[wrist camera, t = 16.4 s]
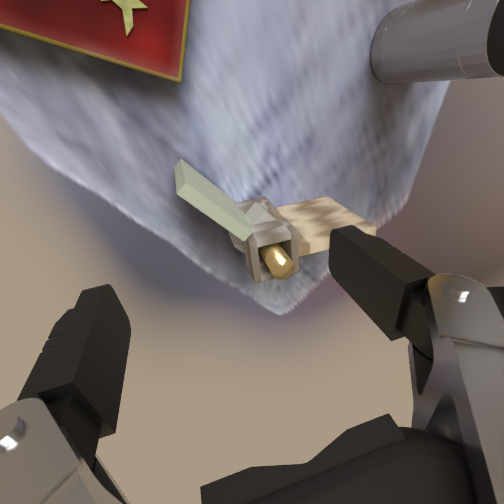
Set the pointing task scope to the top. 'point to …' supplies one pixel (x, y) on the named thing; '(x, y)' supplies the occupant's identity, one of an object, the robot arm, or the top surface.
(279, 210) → the fixed leaf
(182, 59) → the hardcover book
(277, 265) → the brass pin
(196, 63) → the top surface
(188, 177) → the swinging leaf
